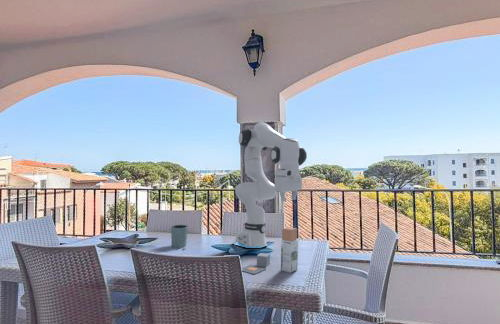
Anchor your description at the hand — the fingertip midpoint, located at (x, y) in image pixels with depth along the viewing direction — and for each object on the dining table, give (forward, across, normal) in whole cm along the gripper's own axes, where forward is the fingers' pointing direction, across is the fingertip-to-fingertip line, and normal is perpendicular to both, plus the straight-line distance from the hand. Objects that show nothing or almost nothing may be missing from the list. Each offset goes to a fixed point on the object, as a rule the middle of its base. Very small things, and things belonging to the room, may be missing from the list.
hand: (288, 200), depth 144 cm
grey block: (+32, +4, -11) cm, 35 cm away
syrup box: (+32, +3, +3) cm, 33 cm away
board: (+32, +14, -11) cm, 37 cm away
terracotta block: (+18, +3, +2) cm, 18 cm away
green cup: (+34, +8, -70) cm, 78 cm away
